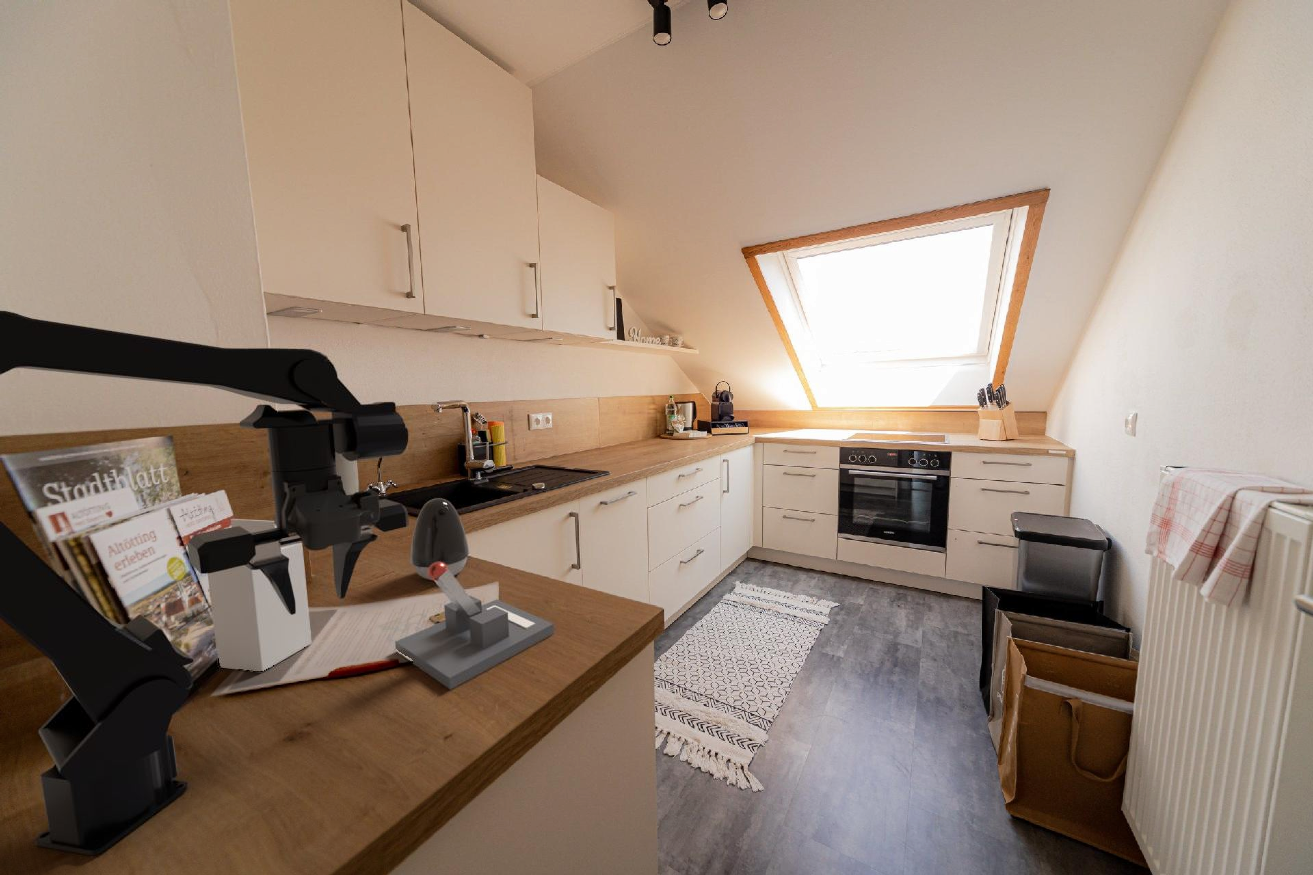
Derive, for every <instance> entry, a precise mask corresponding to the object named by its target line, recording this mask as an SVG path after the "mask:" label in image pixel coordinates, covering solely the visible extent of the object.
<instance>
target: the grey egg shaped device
mask: <svg viewBox="0 0 1313 875" xmlns="http://www.w3.org/2000/svg"><path fill="white" fill-rule="evenodd" d="M410 549H411V550H410V563H411V564H412V565H413V568H414V570H415V572H416V573H417V575H419V576H420V577H421V578H423V579H426V580H429V581H433V580H432V579H431V578H430V577H429V576H428V569H429V567H430V565H431V564H433V563H435V562H443V563H445V564H446V565H447V567H448V569H449V571H450V572H451V573H452V575H453V576H454V577H455V576H456V575H458V574H459V573H460V572H461V571H462V570H463V568H465V566H466V563H467V559H468V556H469V554H470V551H469V550H470V549H469V543H468V539H467V536H466V531H465V529H464V525H463V523H462V521H461V518H460V515H459V513H458V512H457V510H456V508H455V506H454V505H453V504H452V503H451V502H450V501H449V500H447V499H445V498H442V497H438V498H437V497H436V498H433V499H430V500H428V501H427V502H426V503H424V505H423V507H421V510H420V512H419V514H418V515H417V520H416V521H415V526H414V530H413V534H412V541H411V548H410Z"/></svg>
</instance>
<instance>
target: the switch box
mask: <svg viewBox="0 0 1313 875" xmlns="http://www.w3.org/2000/svg"><path fill="white" fill-rule="evenodd" d="M469 596H470V598H471V599H472V600H473V602H474V603H475V604H476V605H477V607H478V608H479V609H480V611H481V612H482V613H479V614H477V615H475V616H472V617H470V618H469V622H468V621H466V619H465V618H464V617H463V616H462V614H461V613H460V612H459V611H458V609H457V608H456V607H455V606H454V605H453V603H452V602H449V603H447V604H445V605H443V607H444V619H445V620H444V621H441V622H439V623H436V624H434V625H432V626H429V627H428V628H425V629H424V628H423V629H422V630H420V631H417V632H415V633H412V634H410V635H407V636H405V637H403V638H399V639H398V640H395V642H394V643H395V644H394V645H395V646H394V647H395V650H396V649H397V650H398V651H399V652H401V653H402V654H404V655H405V656H408V657H409V658H411V659H412V660H413V663H412V665H414V666H415V667H417V668H418V667H419V668H418V669H420V670H421V671H423V672H424V673H426V674H427V675H429V676H430V677H432V679H435V680H436V681H437V682H439V683H440V684H442V685H443V686H444V687H446V688H447V689H448V690H451V691H452V690H453V689H454V688H457V687H458V686H460V685H461V684H463V683H466V682H467V681H469V680H471V679H473V678H475V677H476V676H478V675H480V674H482V673H484V672H486V671H488V670H490V669H492V668H493V667H495V666H497V665H499V664H500V663H503V662H504V661H506V660H508V659H510V658H512V657H514V656H515V655H517V654H520V653H521V652H523V651H524V650H527V649H528V648H530V647H532V646H535V644H538V643H539V642H541V641H544V640H545V639H547V638H548V637H551V636H552V635H554V634H555V629H554V628H555V626H554V624H555V623H552V622H551V621H548V620H545V619H543V618H541V617H538V616H536V615H535V614H532V613H529V612H527V611H525V610H523V609H520V608H518V607H516V606H513V605H511V604H509V603H506V602H504V601H501V600H500V599H497V598H496V599H494V600H492V601H489V602H487V603H485V604H482V600H481V599H478V598H476V597H474V596H472V595H469Z"/></svg>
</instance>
